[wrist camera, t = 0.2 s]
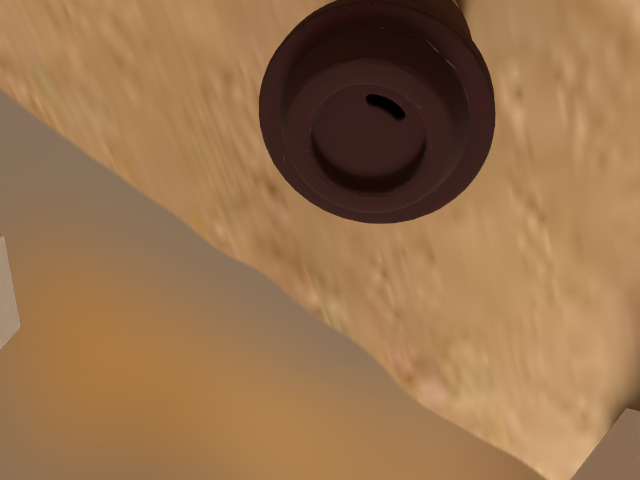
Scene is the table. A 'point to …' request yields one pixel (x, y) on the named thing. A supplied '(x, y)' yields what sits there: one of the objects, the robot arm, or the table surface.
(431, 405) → the table surface
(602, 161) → the table surface
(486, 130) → the coffee cup
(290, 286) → the table surface
